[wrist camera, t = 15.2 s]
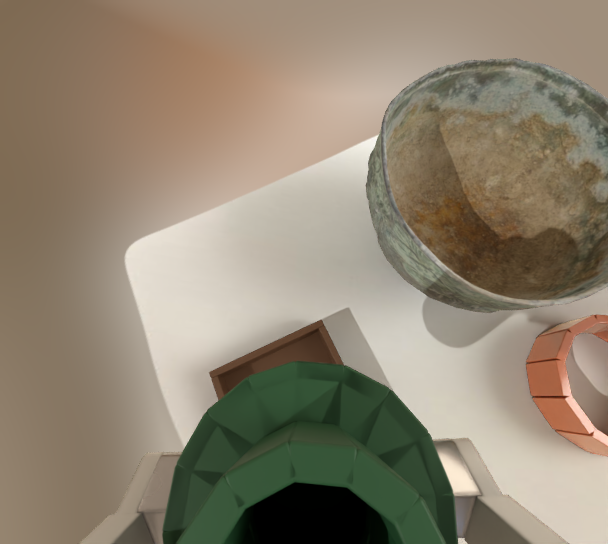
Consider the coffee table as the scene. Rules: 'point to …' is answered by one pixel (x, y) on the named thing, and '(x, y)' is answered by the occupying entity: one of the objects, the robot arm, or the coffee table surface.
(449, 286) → the bowl
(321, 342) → the tray
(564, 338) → the orange ring
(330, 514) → the bottle
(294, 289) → the coffee table surface
